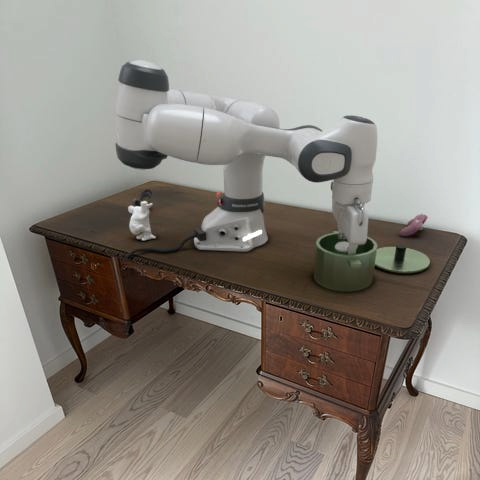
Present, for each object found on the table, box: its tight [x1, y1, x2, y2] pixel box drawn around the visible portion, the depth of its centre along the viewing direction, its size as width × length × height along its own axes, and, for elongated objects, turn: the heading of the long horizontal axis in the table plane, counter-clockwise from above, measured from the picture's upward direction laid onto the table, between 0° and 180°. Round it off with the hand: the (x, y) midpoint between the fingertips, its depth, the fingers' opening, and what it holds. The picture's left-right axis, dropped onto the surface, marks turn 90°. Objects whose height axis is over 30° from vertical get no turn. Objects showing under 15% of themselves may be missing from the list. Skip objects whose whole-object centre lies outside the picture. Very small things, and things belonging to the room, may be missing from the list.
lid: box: [375, 243, 431, 274], centre depth 125 cm, size 16×16×5 cm
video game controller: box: [399, 213, 429, 237], centre depth 142 cm, size 10×5×7 cm, turn 148°
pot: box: [313, 230, 379, 293], centre depth 117 cm, size 15×20×10 cm
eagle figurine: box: [131, 188, 153, 210], centre depth 167 cm, size 8×7×9 cm
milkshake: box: [335, 242, 349, 255], centre depth 116 cm, size 4×5×10 cm
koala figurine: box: [127, 201, 157, 242], centre depth 142 cm, size 8×7×12 cm
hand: (346, 247), depth 115 cm, fingers open, 8 cm apart
